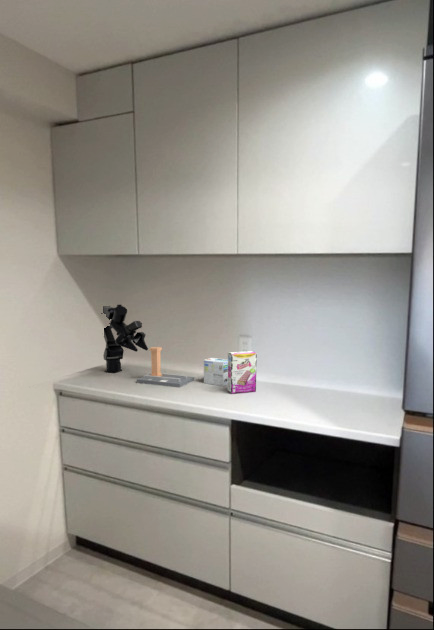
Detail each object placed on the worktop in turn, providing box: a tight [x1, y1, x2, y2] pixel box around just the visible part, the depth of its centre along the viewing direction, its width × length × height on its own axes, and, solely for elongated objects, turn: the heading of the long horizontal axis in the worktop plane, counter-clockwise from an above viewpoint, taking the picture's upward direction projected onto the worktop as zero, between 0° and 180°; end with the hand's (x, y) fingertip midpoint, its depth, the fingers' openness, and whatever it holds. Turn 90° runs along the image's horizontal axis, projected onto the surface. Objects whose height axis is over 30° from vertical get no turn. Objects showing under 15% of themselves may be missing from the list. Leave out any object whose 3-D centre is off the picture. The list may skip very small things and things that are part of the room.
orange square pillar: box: [149, 346, 163, 376], centre depth 198 cm, size 4×4×13 cm
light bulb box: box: [203, 357, 228, 387], centre depth 193 cm, size 11×7×11 cm, turn 58°
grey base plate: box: [136, 372, 195, 388], centre depth 197 cm, size 22×14×3 cm, turn 66°
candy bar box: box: [227, 350, 258, 395], centre depth 178 cm, size 11×5×16 cm, turn 109°
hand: (142, 350), depth 202 cm, fingers open, 9 cm apart
